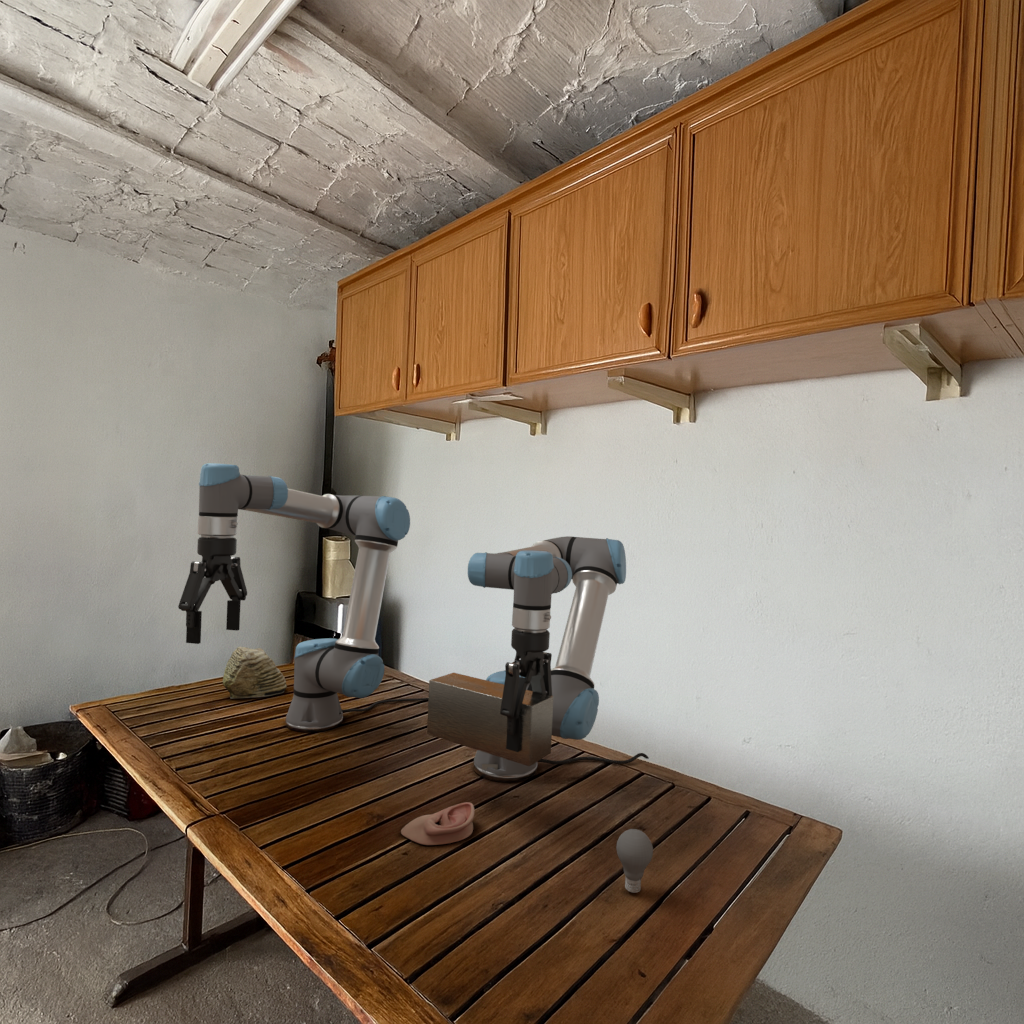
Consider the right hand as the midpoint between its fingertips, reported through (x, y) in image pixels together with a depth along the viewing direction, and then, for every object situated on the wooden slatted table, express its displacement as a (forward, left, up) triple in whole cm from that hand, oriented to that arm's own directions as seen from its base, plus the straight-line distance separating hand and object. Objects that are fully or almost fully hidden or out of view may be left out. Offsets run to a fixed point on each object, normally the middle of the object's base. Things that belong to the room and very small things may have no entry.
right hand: (525, 743), depth 125 cm
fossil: (+40, -102, -16) cm, 111 cm away
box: (+4, -8, -2) cm, 10 cm away
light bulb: (-7, +26, -16) cm, 32 cm away
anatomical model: (+16, -4, -16) cm, 23 cm away
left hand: (+55, -39, +16) cm, 69 cm away
